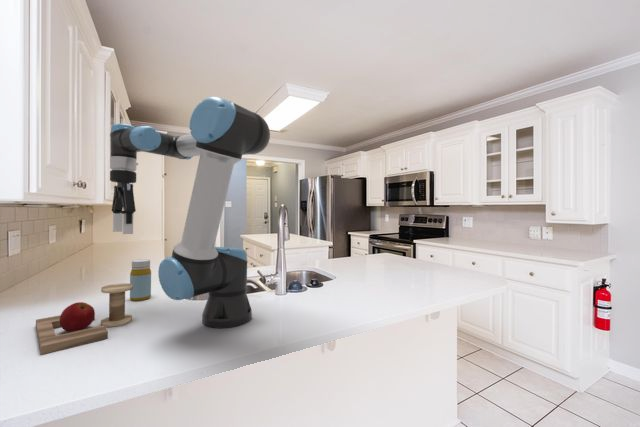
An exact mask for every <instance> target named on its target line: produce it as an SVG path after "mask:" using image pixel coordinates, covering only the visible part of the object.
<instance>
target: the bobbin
mask: <svg viewBox="0 0 640 427" xmlns="http://www.w3.org/2000/svg"><path fill="white" fill-rule="evenodd" d="M131 289H133V284H130V282H129V283H126V282H125V283H123V282H122V283H114V284H107V285H104V286H102V287H101V289H100V293H103V294H109V296H108V297H109V298H108V300H109V301H108V302H109V303H108V306H109V307H108V309H109V310H108V316H107V317H104V318H102V319H101V321H100V326H103V325H104V327H105V328H114V327H121V326H124V325H127V324H129V323H131V322H132V321H133V315H132V314H129V313H128V314H126V292H128V291H129V292H130V290H131Z"/></svg>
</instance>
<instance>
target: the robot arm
mask: <svg viewBox="0 0 640 427" xmlns="http://www.w3.org/2000/svg"><path fill="white" fill-rule="evenodd" d="M192 111H193V112H192V113H191V115H190V118H189V124H188V125H189V130H190V134H189V133H188V134H184V135H171V134H167V133H163V132H160V131H158V130H157V129H156V128H155V127H152V126H150V125H141V126H134V125H131V124H127V123H113V124H112V125H111V126H110V134H109V138H110V139H109V140H110V141H109V142H110V145H109V146H110V149H109V151H110V156H109V168H110V171H109V181H111V182H112V183H116V185H114V186H113V197H112V204H111V205H112V206H111V212H112V215H113V216H112V232H114V233H116V232H117V233H118V232H119V233H121V232H122V235H134V214H135V213H136V211H137V210H136V204H135V196H134V184H136V183H137V172H136V171H137V166H139V162H137V159H138V158H137V157H138V156H137V154H138V153H140V152H142V153H143V152H144V153H149V154H154V155H159V156H160V155H161V156H165V157H171V158H174V159H178V160H187V161H188V160H190V159H192V158H193V157H197V156H198V157H199V160H198V163H197V164H198V165H197V168H196V173H195V178H194V183H193V187H192V191H191V196H190V201H189V205H188V209H187V215H186V218H185V222H184V227H183V232H182V236H181V241H180V242H178V243H177V244H175V245H174V246H173V249H172V254H171V256H169V257H165V258H164V259H163V260H161V262H160V263H159V266H158V274H157V275H158V280H159V284H160V286H161V289H162V291H163V292H164V294H165V295H166V296H167V297H168V298H170V299H171V300H174V301H181V300H188V299H189V300H190V299H192V298H194V297H195V298H196V297H199V296H201V295H202V296H203V295H205V294H208V297H207V300H206V303H205V306H204V309H203V311H202V315H201V318H202V319H201V322H202V325H204V326H206V327H209V328H218V329H219V328H220V329H221V328H223V329H224V328H226V329H227V328H235V327H237V326H242V325H244V324H246V323H248V322H250V321H251V319H252V317H253V316H252V313H253V310H252V308H251V304H250V300H249V298H248V295H247V292H248V291H247V288H248V286H247V285H248V283H247V282H248V262H249V261H248V253H247V251H246V250H245V249H244V248H238V247H227V246H226V247H225V246H215V244H216V240H217V237H218V232H219V228H220V225H221V224H220V223H221V220H222V216H223V213H224V212H223V211H224V207H225V202H226V198H227V194H228V191H229V186H230V182H231V178H232V174H233V170H234V165H235V164H237V163H239V162H240V161H242V157H243V155H256V154H259V153H261V152H263V151H264V150H265V149H266V148H267V147H268V146H269V143H270V140H271V131H270V128H269V125H268V122H267V121H266V120H265V119H264V118H263V117H262V116H261V115H260V114H258V113H256V112H254V111H251V110H249V109H247V108H245V107H243V106H241V105H239V104H237V103H235V102H233V101H231V100H228V99H224V98H222V97H218V96H209V97H206V98H205V99H202V101H200V102H199V103H198V104H197V105H196V107H194V109H193V110H192Z"/></svg>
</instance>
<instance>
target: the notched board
mask: <svg viewBox="0 0 640 427" xmlns="http://www.w3.org/2000/svg"><path fill="white" fill-rule="evenodd" d="M60 316H61V314H60V315H55V316H49V317H43V318H39V319H35V328H36V329H35V331H36V337H37V341H38V346H39V351H40V355H46V354H50V353H55V352H58V351H63V350H66V349H70V348H75V347H79V346H83V345H87V344H90V343H91V344H92V343H95V342H98V341H99V342H100V341H104V340H106V339H108V337H109V330H108V329H107V327H104V325H103V326H101V325H99V326H98V325H97V326H95V327H89V328H85V329H84V330H80V331H75V332H67V333H61V334H59V335H58V334H57V335H56V332H55V330H54V329H59V328H62V327H61V325H60ZM95 317H96V316H95ZM95 317H94V320H93V321H95V320H96V318H95Z"/></svg>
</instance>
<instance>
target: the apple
mask: <svg viewBox="0 0 640 427" xmlns="http://www.w3.org/2000/svg"><path fill="white" fill-rule="evenodd" d="M95 311H96V310H95V308H94V307H93V306H92V305H91V304H89V303H86V302H83V301H82V302H81V301H79V302H74V303H71V304H70V305H68V306H66V307H65V308H64V309H63V310H62V312H61V314H60V315H61V316H60V325H61V327H60V328H62V330H63V331H66V332H67V333H71V332H75V331H80V330H84V329H88V327H89V326H90V325H91V324H92V323H93V322H94V321H95V320H94V317H96V312H95Z"/></svg>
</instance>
